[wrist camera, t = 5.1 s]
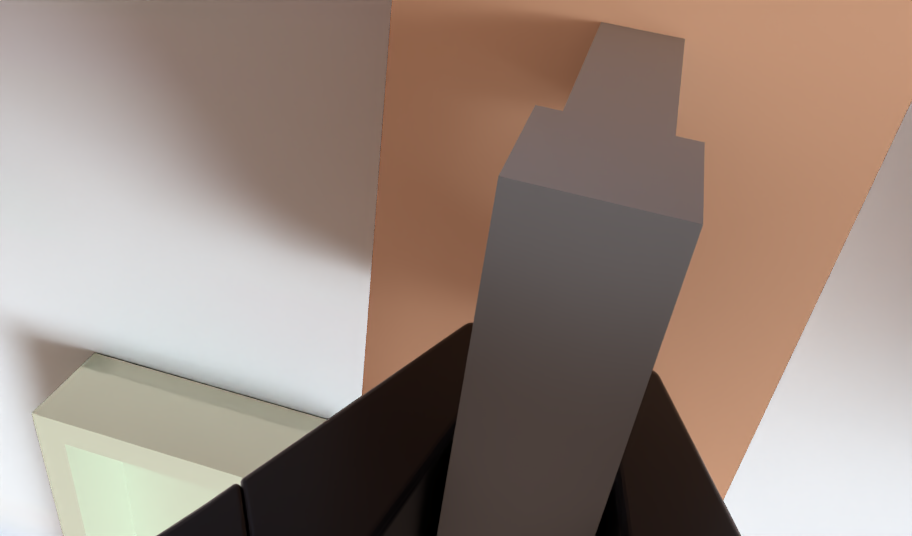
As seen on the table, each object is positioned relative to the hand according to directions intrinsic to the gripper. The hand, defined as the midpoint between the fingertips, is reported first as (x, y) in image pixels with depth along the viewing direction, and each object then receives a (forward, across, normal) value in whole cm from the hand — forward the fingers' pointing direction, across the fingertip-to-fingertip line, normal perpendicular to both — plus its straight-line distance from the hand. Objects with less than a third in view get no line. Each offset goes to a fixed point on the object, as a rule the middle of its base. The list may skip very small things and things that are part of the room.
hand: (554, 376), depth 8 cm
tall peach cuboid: (+6, 0, 0) cm, 6 cm away
